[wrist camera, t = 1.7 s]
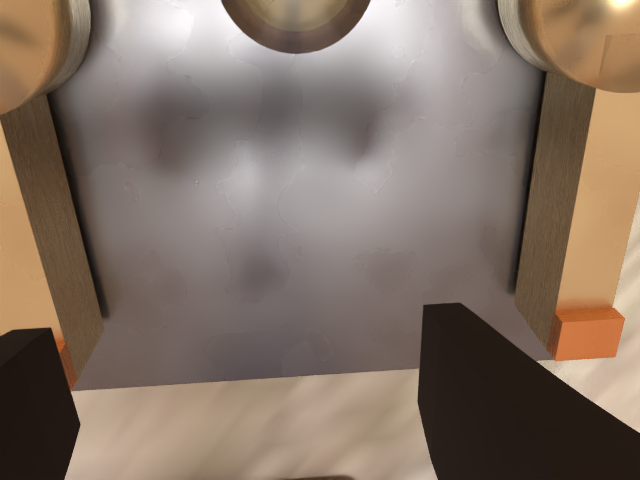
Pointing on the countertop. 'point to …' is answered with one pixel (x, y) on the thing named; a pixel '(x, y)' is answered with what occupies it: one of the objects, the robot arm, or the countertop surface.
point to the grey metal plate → (295, 182)
